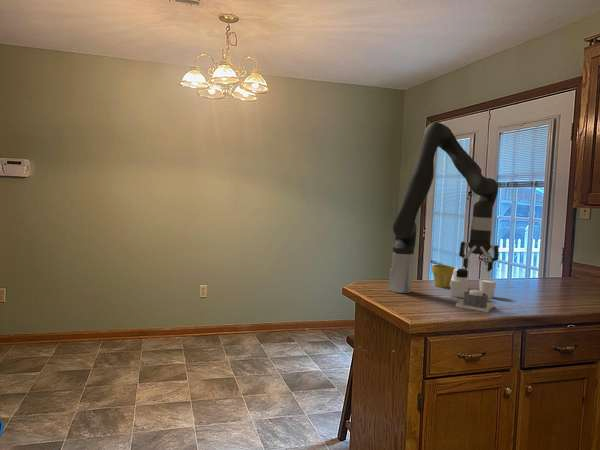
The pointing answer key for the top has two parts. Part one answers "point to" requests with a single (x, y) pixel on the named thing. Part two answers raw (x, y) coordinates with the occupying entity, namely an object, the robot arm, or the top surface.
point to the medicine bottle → (459, 283)
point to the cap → (476, 292)
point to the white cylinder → (487, 287)
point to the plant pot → (442, 275)
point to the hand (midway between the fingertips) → (477, 269)
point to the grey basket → (475, 302)
